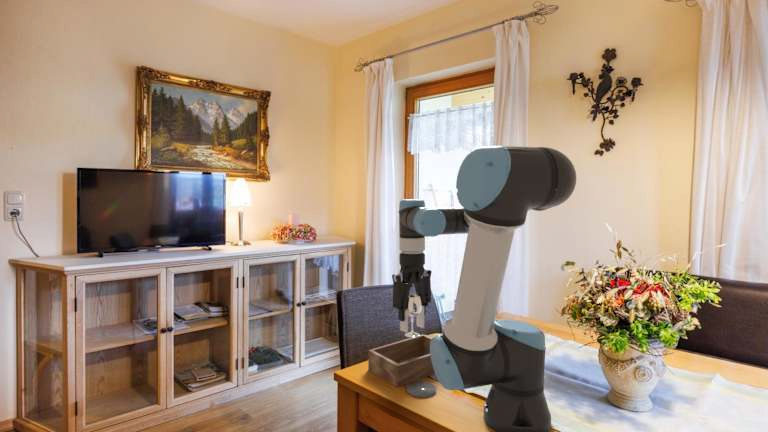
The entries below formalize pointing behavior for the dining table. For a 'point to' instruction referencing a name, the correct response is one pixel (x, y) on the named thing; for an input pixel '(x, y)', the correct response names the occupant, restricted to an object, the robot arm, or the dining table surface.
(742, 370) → the dining table surface
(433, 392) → the coaster
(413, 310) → the wineglass
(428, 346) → the rectangular wooden frame
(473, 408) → the dining table surface
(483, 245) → the robot arm
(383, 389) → the dining table surface
